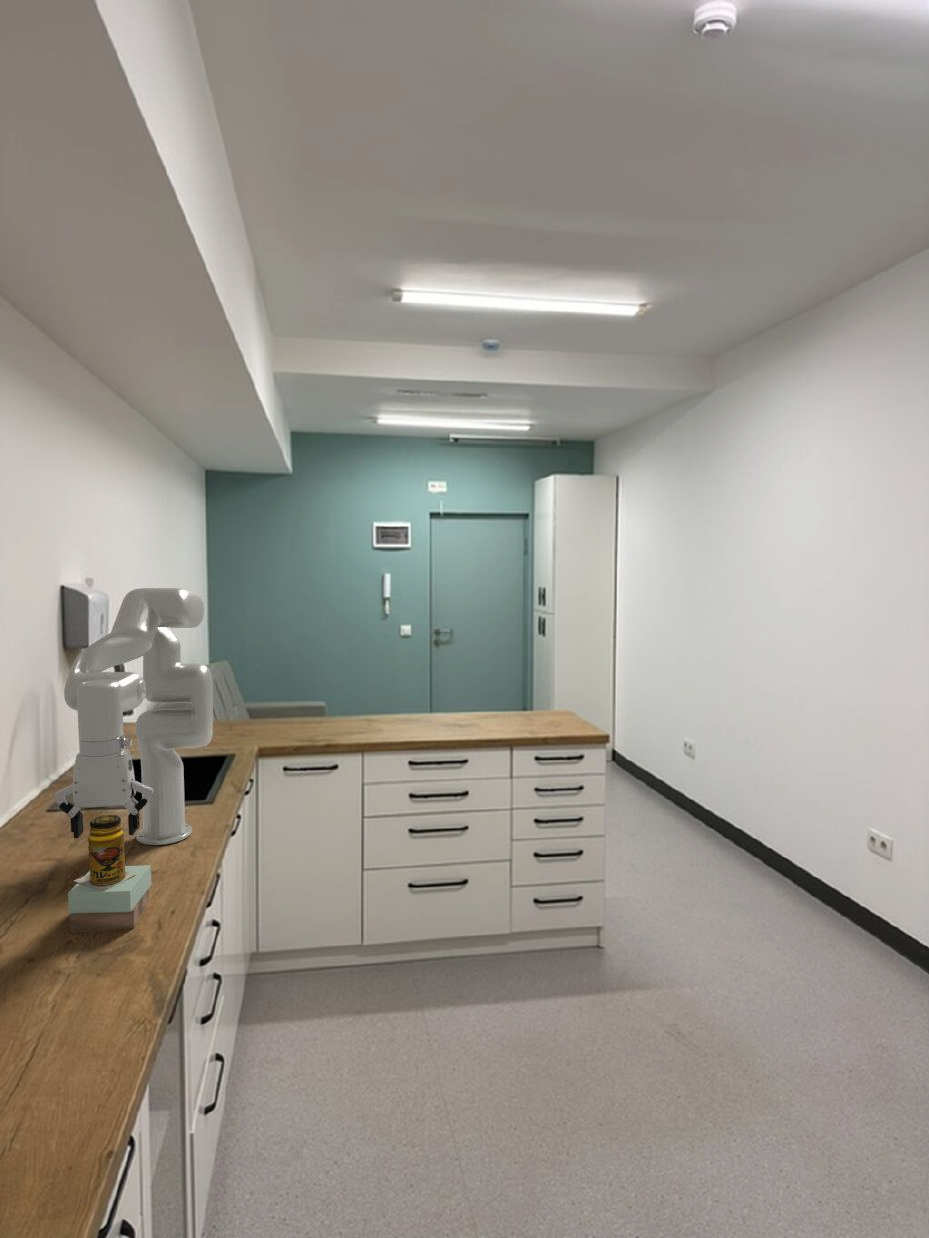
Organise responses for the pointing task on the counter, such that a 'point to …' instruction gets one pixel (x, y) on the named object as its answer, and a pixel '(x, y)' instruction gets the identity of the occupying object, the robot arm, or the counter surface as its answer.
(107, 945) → the counter surface
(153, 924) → the counter surface
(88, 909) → the top block
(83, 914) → the bottom block
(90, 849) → the condiment
